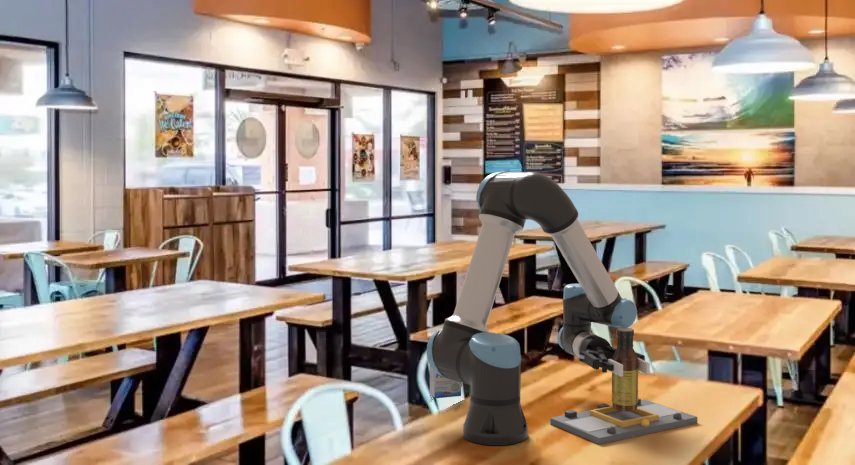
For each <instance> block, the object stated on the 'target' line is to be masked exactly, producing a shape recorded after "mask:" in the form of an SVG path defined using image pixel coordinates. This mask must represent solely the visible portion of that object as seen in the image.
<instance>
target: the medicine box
mask: <svg viewBox="0 0 855 465" xmlns="http://www.w3.org/2000/svg"><path fill="white" fill-rule="evenodd" d="M429 394H430V396H431V397H432V398H434V399H444V398H445V399H446V398H454V397H455V398H456V397H462V383H461V382H458V381H455V380H450V379H447V378H444V377H443V376H441V375H439V374H437V373H436V372H434V371H433V369H432V368H431V367H430V366H429Z"/></svg>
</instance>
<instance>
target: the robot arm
mask: <svg viewBox="0 0 855 465" xmlns="http://www.w3.org/2000/svg"><path fill="white" fill-rule="evenodd" d="M475 197H476V198H475V200H476V202H477V204H476V206H477V208H478V210H479V213H478V218H479V220H480V222H481V228H480V231H479V234H478V237H477V240H476V243H475V246H474V250H473V252H472V254H471V258H470V262H469V264H468V267H467V270H466V274H465V278H464V281H463V284H462V286H461V290H460V293H459V296H458V299H457V302H456V306H455V309H454V311H453V314H452V315H451V316H449V317H447V318H445V319H444V322H443V326H442V328H440V329H438V330H436V331H435V332H434V333H432V335H431V336H430V337H429V339H428V341H427V344H426V357H427V358H426V359H427V363H428V364H429V368H430V367H431V368H432V369H433V371H434V372H436V373H437V374H439V375H441V376H443V377H444V378H447V379H450V380H455V381H458V382H461V384H462V383H463V384H465V385H468V386H469V385H471V396H470V402H469V407H468V409H467V412H466V416H465V421H464V423H463V428H462V431H463V433H462V434H463V435H462V436H463V438H465V439H466V440H467V441H470V442H472V443H475V444H480V445H486V446H509V445H515V444H519V443H522V442H524V441H526V440H527V438H529V427H528V423H527V420H526V418H525V417H526V416H525V414H524V411H523V407H522V405H521V387H522V386H521V383H522V382H521V381H522V379H521V378H522V376H521V375H522V372H521V371H522V355H521V346H520V343H519V342H518V340H516V338H514V337H513V336H510V335H507V334H505V333H495V332H491V331H489V328H488V326H487V324H488V321H489V319H490V315H491V312H492V308H493V305H494V301H495V298H496V295H497V292H498V290H499V286H500V284H501V280H502V277H503V273H504V270H505V267H506V264H507V261H508V258H509V254H510V251H511V248H512V245H513V242H514V240H515V235H517V234H518V233H521V232H523V231H524V227H525V225H526V224H525V223H526V221H527V220H531V221H533V222H535V223H537V224H538V225H539V226H540V228H541V229H542V232H543V233H545V235H546V234H548V235H550V236H551V238H552V240H553V241H554V243H555V245H556V246H557V248H558V250H559V252H560V253H561V255H562V257H563V258H564V260H565V262H566V263H567V266H568V267H569V268H570V270H571V272H572V273H573V275H574V277H575V279H576V280H577V282H578V283H569V284H566V285H565V286H564V287H563V296H562V297H563V298H562V311H563V312H562V313H563V314H562V316H563V317H562V318H563V320H562V322H563V323H562V327H561V328H560V330H559V332H558V334H557V344H558V345H559V347H560V348H562V350H564V351H565V352H566V353H568V355H572V356H575V357H577V358H578V360H579V362H582V363H584V364H586V365H588V366H589V367H591V368H592V369H594V370H600V368H601V372H602V373H604V374H605V373H606V374H607V372H608V371H609V372H610V373H611V374H612V373H614V374H616V375H618V376H620V377H621V376H623V365H622V364H620V363H618V362H616V361H614V360H612V359H613V356H614V354H615V351H616V348H615V347H613V346H611V344H610V342H609V341H608V340H607V339H606V338H603V337H602V336H600V335H597V334H595V333H592V323H593V324H599V325H603V326H604V325H605V326H609V327H612V328H631V326H633V324H634V323H635V321H636V319H637V316H638V310H637V306H636V304H635V302H634V301H633V300H630V299H628V298H625V297H624V298H623V297H622V296H621V294H620V292H619V291H618V289H617V287H616V286H615V283H614V282H613V280H612V277H611V276H610V275H609V273H608V271H607V269H606V268H605V266H604V264H603V262H602V260H601V259H600V256H599V255H598V253H597V251H596V250H595V248H594V246H593V244H592V243H591V241H590V239H589V237H588V235H587V234H586V233H585V230H584V229H583V227H582V225H581V223H580V221H579V220H578V219H579V216H580V215H579V214H580V213H579V211H578V210H577V208H576V206H575V204H574V203H573V202H572V199H571V198H570V196H568V194H567V192H565V190H564V189H563V188H562V187H561V186H560V185H559V184H558V183H557V182H556V181H554V180H553V179H552V178H550V177H549V176H548V175H546V174H544V173H540V172H536V171H530V172H527V171H524V172H523V171H521V172H520V171H509V170H508V171H507V170H505V171H504V170H503V171H499V172H498V171H497V172H492V173H491V174H489V175H487V176H486V177H484V179H483V180H481V182H480V184H479V186H478V187H477V191H476V196H475ZM635 352H636V354H637V357H638V372H641V373H643V374H645V375H650V365H651V364H650V362H649V361H647V360H646V358H645V355H644V354H642V353H639V352H637V351H635Z"/></svg>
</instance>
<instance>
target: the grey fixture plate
mask: <svg viewBox="0 0 855 465" xmlns="http://www.w3.org/2000/svg"><path fill="white" fill-rule="evenodd" d="M549 422H550V423H549V424H550V425H552V426H554V427H557V428H560V430H561V429H562V430H564V431H566V432H569V433H571V434H574V435H576V436H578V437H581V438H583V439H585V440H588V441H590V442H593V443H595V444H598V445H603V444H608V443H613V442H616V441H621V440H626V439H631V438H635V437H640V436H644V435H649V434H653V433H658V432H662V431H667V430H671V429H676V428H680V427H684V426H690V425H695V424H698V416H696V415H692V414H689V413H686V412H684V411H681V410H678V409H675V408H671V407H669V406H666V405H662V404H659V403H657V402H654V401H651V400H648V399H641V398H638V403H637V409H636V410H633V411H629V412H626V411H620V410H616V409H614V408H613V405H609V404H606V403H601V404H597V408H594V409H588V410H585V411H584V410H583V411H579V412H578V411H576V410H573V409H571V410H566V411H565V410H564V414H562V415H558V416H554V417H550V418H549Z"/></svg>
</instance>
